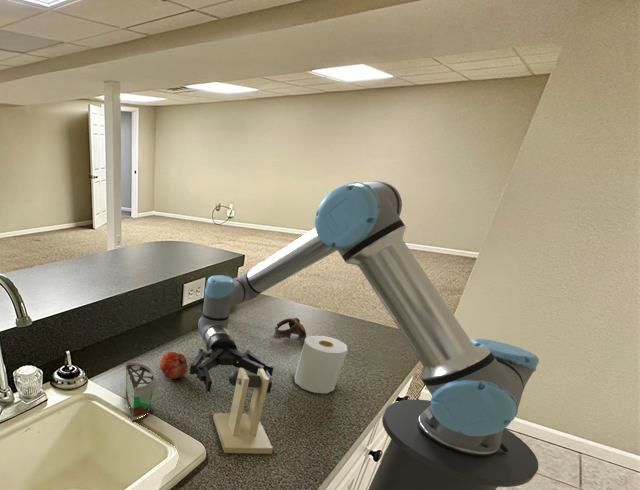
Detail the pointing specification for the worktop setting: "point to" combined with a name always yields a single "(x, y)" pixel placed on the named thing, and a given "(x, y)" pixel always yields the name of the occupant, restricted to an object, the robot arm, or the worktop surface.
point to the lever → (253, 380)
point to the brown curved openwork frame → (290, 329)
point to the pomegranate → (173, 365)
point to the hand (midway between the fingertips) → (239, 387)
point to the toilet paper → (320, 364)
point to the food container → (139, 390)
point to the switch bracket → (244, 419)
